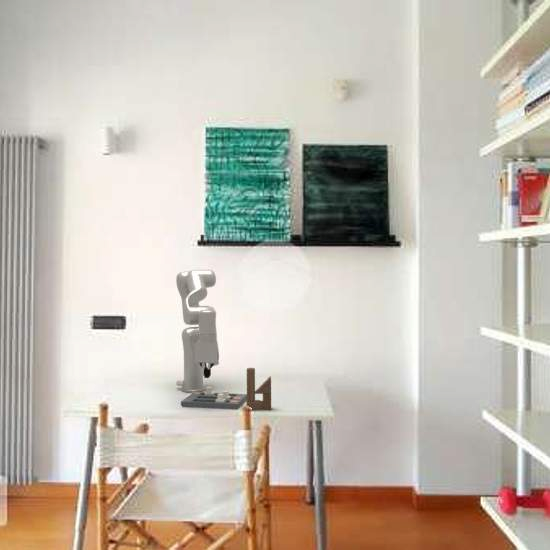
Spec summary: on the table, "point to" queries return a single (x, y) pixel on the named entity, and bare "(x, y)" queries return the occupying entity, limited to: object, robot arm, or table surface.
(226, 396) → the tab mid
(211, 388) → the tab far
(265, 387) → the brown notched upright part
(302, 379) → the table surface
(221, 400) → the tab near
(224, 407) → the switch board
